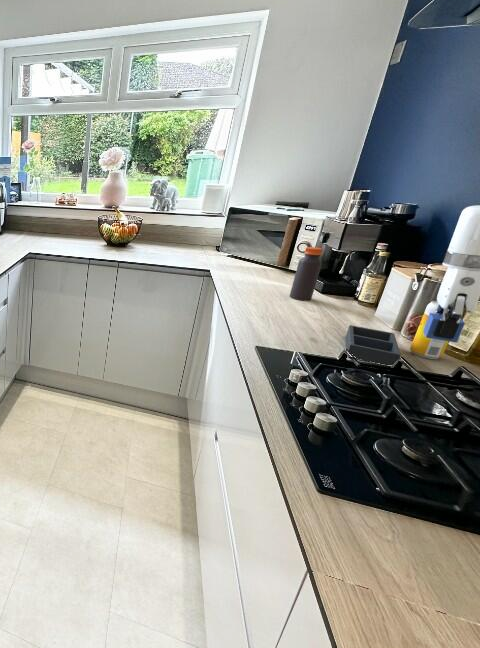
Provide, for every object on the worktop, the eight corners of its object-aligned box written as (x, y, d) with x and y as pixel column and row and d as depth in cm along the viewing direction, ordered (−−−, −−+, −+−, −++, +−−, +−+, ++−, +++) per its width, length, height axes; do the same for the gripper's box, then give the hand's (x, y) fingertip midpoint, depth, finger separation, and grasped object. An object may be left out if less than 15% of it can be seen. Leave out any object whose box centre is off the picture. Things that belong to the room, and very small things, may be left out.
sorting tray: (389, 345, 116) (394, 333, 115) (395, 368, 103) (400, 354, 102) (345, 336, 122) (349, 324, 121) (346, 357, 109) (350, 344, 108)
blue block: (452, 336, 98) (460, 317, 96) (457, 342, 94) (465, 323, 93) (422, 331, 101) (429, 312, 99) (425, 337, 97) (433, 318, 96)
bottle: (285, 296, 159) (298, 247, 152) (297, 294, 161) (311, 246, 154) (302, 301, 153) (317, 250, 146) (315, 300, 155) (330, 249, 148)
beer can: (431, 351, 112) (452, 301, 107) (447, 361, 107) (470, 309, 102) (403, 348, 114) (423, 299, 109) (417, 358, 108) (439, 306, 103)
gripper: (506, 270, 83) (472, 349, 89) (485, 256, 95) (457, 326, 101) (451, 265, 88) (423, 341, 94) (438, 252, 100) (414, 320, 106)
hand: (441, 332), depth 97 cm, fingers closed on blue block, 5 cm apart
